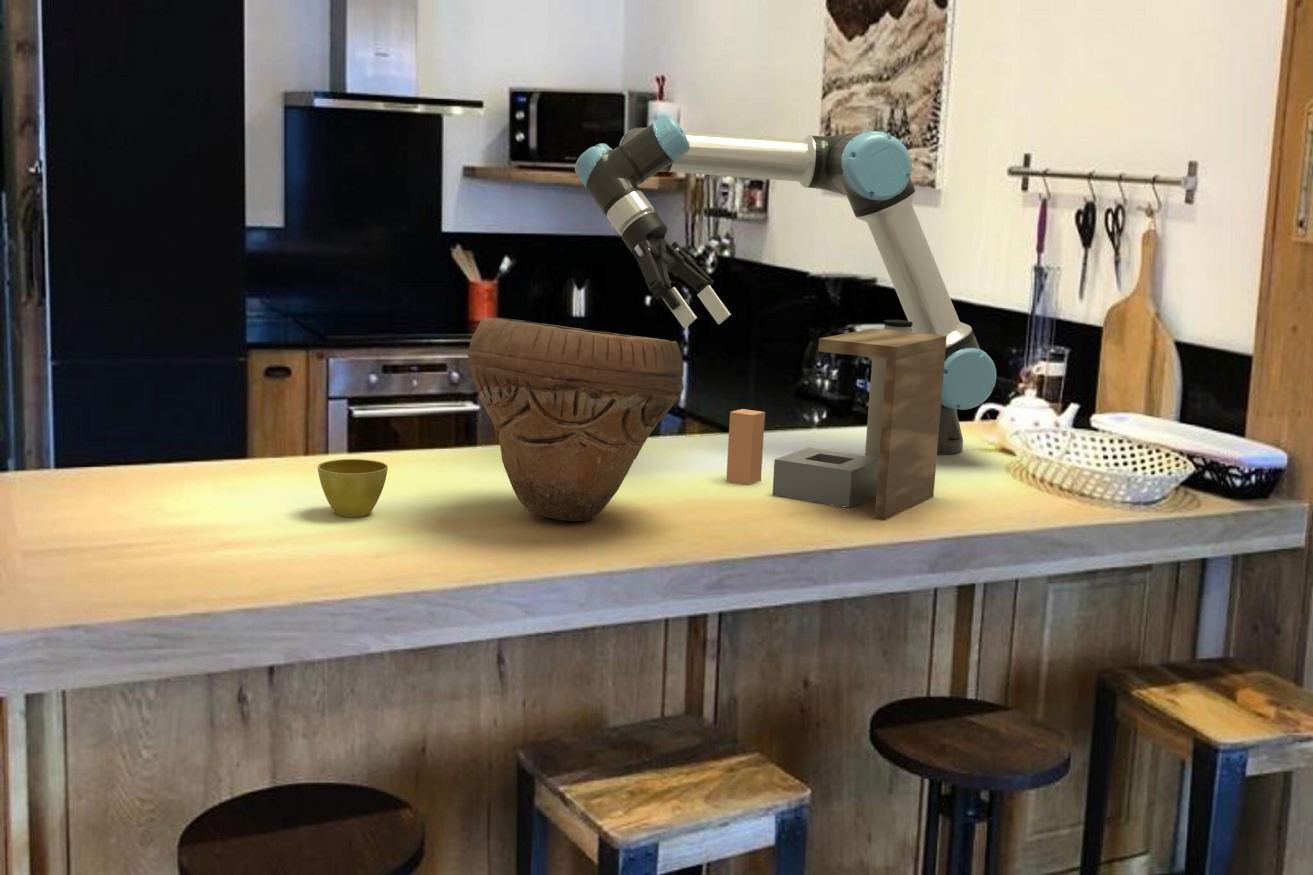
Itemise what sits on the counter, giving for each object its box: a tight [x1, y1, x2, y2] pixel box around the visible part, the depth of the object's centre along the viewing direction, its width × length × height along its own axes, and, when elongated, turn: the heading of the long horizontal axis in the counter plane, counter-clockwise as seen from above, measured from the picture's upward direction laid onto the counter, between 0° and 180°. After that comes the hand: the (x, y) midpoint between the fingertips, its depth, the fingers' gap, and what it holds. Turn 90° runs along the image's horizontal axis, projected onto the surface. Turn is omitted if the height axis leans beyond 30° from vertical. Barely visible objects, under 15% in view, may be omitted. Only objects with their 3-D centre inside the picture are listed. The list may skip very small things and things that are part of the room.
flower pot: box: [317, 458, 389, 518], centre depth 217 cm, size 10×10×7 cm
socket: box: [771, 447, 879, 508], centre depth 245 cm, size 14×14×6 cm
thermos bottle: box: [864, 319, 913, 458], centre depth 258 cm, size 8×8×28 cm
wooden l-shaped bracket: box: [817, 328, 947, 521], centre depth 239 cm, size 13×22×27 cm, turn 150°
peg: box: [725, 408, 766, 486], centre depth 252 cm, size 4×4×12 cm
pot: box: [467, 316, 685, 522], centre depth 220 cm, size 32×32×30 cm
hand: (708, 321), depth 252 cm, fingers open, 13 cm apart
